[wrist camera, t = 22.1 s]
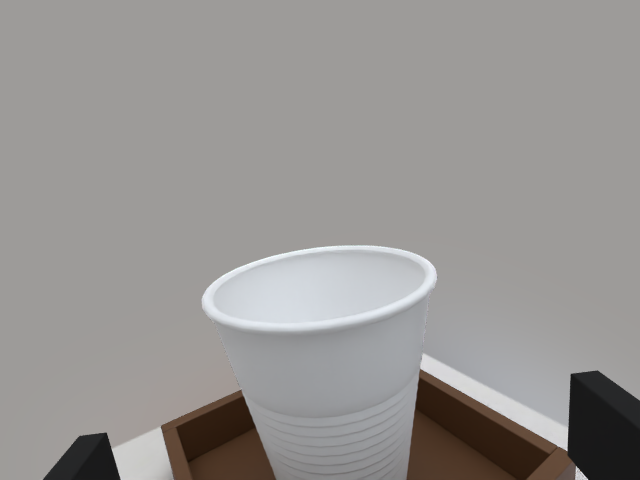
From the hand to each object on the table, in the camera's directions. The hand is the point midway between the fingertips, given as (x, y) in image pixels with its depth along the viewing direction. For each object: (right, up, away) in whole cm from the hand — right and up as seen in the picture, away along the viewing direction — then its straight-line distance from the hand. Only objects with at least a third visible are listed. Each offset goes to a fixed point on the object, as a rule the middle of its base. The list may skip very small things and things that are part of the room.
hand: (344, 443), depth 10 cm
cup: (+1, -7, +8) cm, 10 cm away
